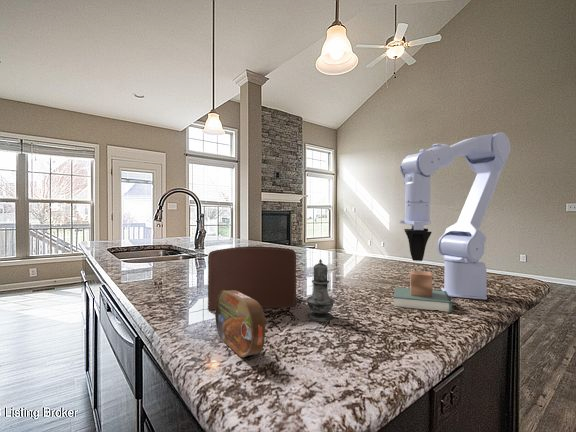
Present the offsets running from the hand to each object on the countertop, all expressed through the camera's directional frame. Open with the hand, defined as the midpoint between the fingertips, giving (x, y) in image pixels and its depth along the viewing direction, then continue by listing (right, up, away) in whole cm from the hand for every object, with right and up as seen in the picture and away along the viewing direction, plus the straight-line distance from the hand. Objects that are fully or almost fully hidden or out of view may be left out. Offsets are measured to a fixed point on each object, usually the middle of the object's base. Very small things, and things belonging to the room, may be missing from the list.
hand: (416, 258), depth 76 cm
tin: (-39, -11, -25) cm, 48 cm away
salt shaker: (-25, -11, -12) cm, 29 cm away
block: (0, -8, -2) cm, 8 cm away
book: (0, -11, -2) cm, 11 cm away
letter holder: (-40, -11, -1) cm, 41 cm away
